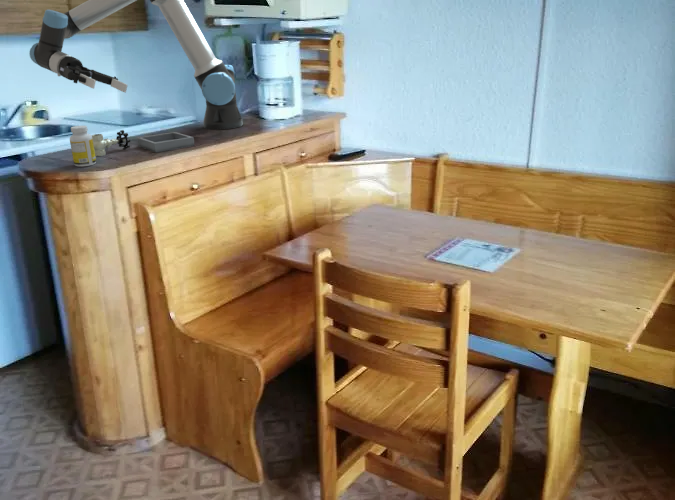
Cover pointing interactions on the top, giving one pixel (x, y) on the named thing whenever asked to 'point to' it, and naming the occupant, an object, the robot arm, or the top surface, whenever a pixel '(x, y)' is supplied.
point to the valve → (109, 142)
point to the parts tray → (165, 142)
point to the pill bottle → (82, 147)
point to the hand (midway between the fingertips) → (110, 86)
